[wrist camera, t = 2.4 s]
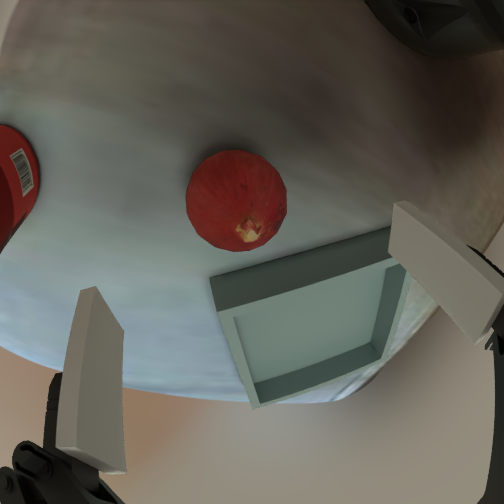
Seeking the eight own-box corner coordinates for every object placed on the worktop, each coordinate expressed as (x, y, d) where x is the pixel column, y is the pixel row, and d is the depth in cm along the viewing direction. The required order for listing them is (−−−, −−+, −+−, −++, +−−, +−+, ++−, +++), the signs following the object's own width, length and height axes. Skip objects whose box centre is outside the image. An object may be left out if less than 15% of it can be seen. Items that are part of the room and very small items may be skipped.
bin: (393, 225, 26) (418, 247, 23) (371, 338, 37) (385, 359, 34) (209, 278, 24) (216, 312, 21) (245, 382, 35) (252, 409, 32)
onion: (279, 155, 20) (333, 201, 14) (247, 224, 22) (281, 294, 16) (200, 127, 18) (218, 159, 11) (172, 205, 20) (176, 275, 14)
